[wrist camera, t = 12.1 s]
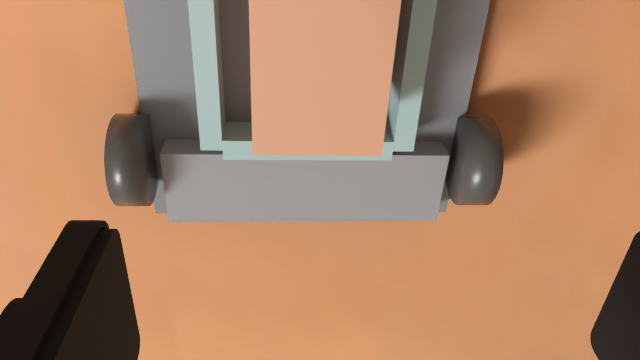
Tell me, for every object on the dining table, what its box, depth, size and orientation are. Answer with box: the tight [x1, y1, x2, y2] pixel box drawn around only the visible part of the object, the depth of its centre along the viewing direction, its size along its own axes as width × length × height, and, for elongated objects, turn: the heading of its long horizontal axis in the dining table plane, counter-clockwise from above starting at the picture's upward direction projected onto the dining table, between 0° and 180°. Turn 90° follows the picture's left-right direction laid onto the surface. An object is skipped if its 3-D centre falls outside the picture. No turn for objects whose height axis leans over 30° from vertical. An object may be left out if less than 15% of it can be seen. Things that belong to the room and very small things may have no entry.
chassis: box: [104, 0, 503, 222], centre depth 23 cm, size 18×21×4 cm
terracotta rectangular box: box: [249, 0, 401, 156], centre depth 21 cm, size 5×7×6 cm
